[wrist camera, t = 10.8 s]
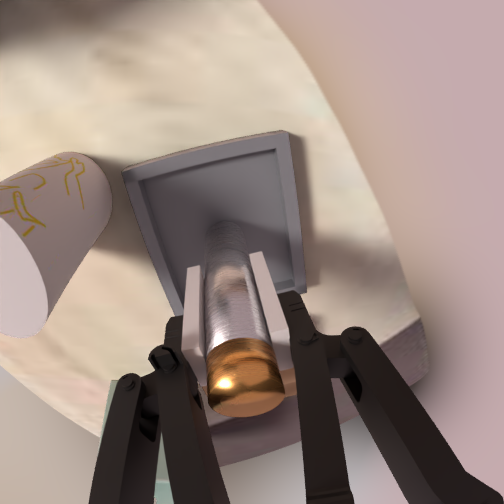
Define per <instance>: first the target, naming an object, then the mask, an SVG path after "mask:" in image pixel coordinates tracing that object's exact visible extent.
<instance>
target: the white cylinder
mask: <svg viewBox="0 0 504 504" xmlns="http://www.w3.org/2000/svg"><path fill="white" fill-rule="evenodd" d="M111 212H112V192H111V188H110V185H109V182H108V179H107V177H106V175H105V174H104V172H103V171H102V169H101V168H100V167H99V166H98V165H97V164H96V163H95V162H94V161H93V160H92V159H90V158H89V157H87V156H85V155H82V154H80V153H76V152H63V153H59V154H56V155H54V156H52V157H50V158H47V159H45V160H43V161H41V162H39V163H36V164H34V165H32V166H30V167H28V168H26V169H24V170H22V171H20V172H18V173H16V174H14V175H12V176H10V177H9V178H7V179H5V180H3V181H1V182H0V333H2V334H4V335H7V336H10V337H15V338H28V337H31V336H34V335H35V334H37V333H38V332H39V331H40V330H41V329H42V328H43V326H44V324H45V323H46V321H47V319H48V317H49V315H50V313H51V312H52V310H53V308H54V306H55V304H56V303H57V301H58V299H59V298H60V296H61V294H62V292H63V291H64V289H65V287H66V286H67V284H68V283H69V281H70V279H71V278H72V276H73V274H74V273H75V271H76V270H77V268H78V267H79V265H80V264H81V262H82V260H83V259H84V257H85V256H86V254H87V253H88V251H89V250H90V249H91V247H92V246H93V244H94V243H95V241H96V240H97V238H98V237H99V236H100V234H101V233H102V231H103V230H104V229H105V227H106V225H107V224H108V222H109V219H110V216H111Z"/></svg>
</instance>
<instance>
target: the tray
mask: <svg viewBox="0 0 504 504" xmlns="http://www.w3.org/2000/svg"><path fill="white" fill-rule="evenodd" d="M121 173H122V176H123V179H124V183H125V186H126V189H127V192H128V195H129V198H130V201H131V204H132V207H133V210H134V213H135V216H136V219H137V222H138V225H139V227H140V230H141V233H142V236H143V239H144V241H145V244H146V247H147V249H148V252H149V254H150V257H151V260H152V262H153V265H154V267H155V270H156V272H157V275H158V277H159V280H160V282H161V284H162V287H163V289H164V292H165V294H166V296H167V299H168V301H169V303H170V306H171V308H172V310H173V312H174V315H175V316H180V315H184V302H185V290H186V279H187V268H189V267H194V266H198V265H200V267H201V271H202V274H203V277H204V280H205V234H206V232H207V230H208V229H209V228H210V227H211V226H212V225H213V224H215V223H217V222H220V221H229V222H233V223H235V224H236V225H238V226H239V227H240V228H241V230H242V232H243V235H244V239H245V242H246V246H247V250H248V254H252V253H256V252H260V251H262V253H263V256H264V259H265V262H266V265H267V268H268V270H269V273H270V276H271V279H272V282H273V285H274V288H275V291H276V294H279V293H283V292H287V291H291V290H294V291H296V292H297V293H298V294H303V293H307V287H306V275H305V264H304V254H303V244H302V235H301V226H300V217H299V208H298V200H297V192H296V184H295V177H294V169H293V162H292V155H291V148H290V142H289V135H288V132H286V131H283V130H279V131H273V132H267V133H262V134H256V135H251V136H245V137H240V138H235V139H230V140H226V141H221V142H217V143H212V144H208V145H203V146H199V147H195V148H191V149H187V150H183V151H179V152H176V153H172V154H168V155H165V156H161V157H158V158H154V159H151V160H147V161H144V162H141V163H137V164H134V165H131V166H128V167H127V168H125V169H124V170H123V171H122V172H121ZM249 258H250V256H249Z"/></svg>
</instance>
